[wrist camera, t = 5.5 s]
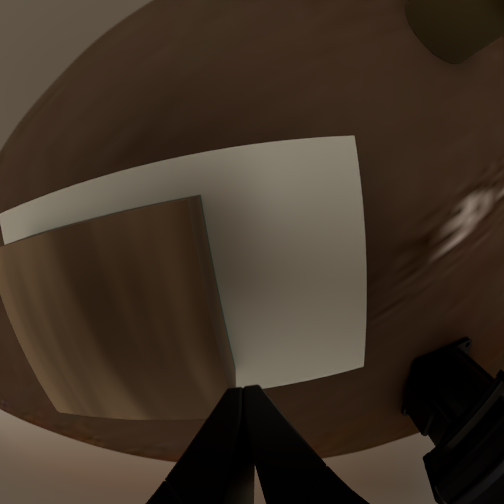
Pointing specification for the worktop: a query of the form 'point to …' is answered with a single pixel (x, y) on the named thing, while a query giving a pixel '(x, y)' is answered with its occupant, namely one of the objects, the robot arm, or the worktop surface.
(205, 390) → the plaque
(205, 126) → the worktop surface
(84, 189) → the board
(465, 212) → the worktop surface
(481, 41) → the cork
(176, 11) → the worktop surface
